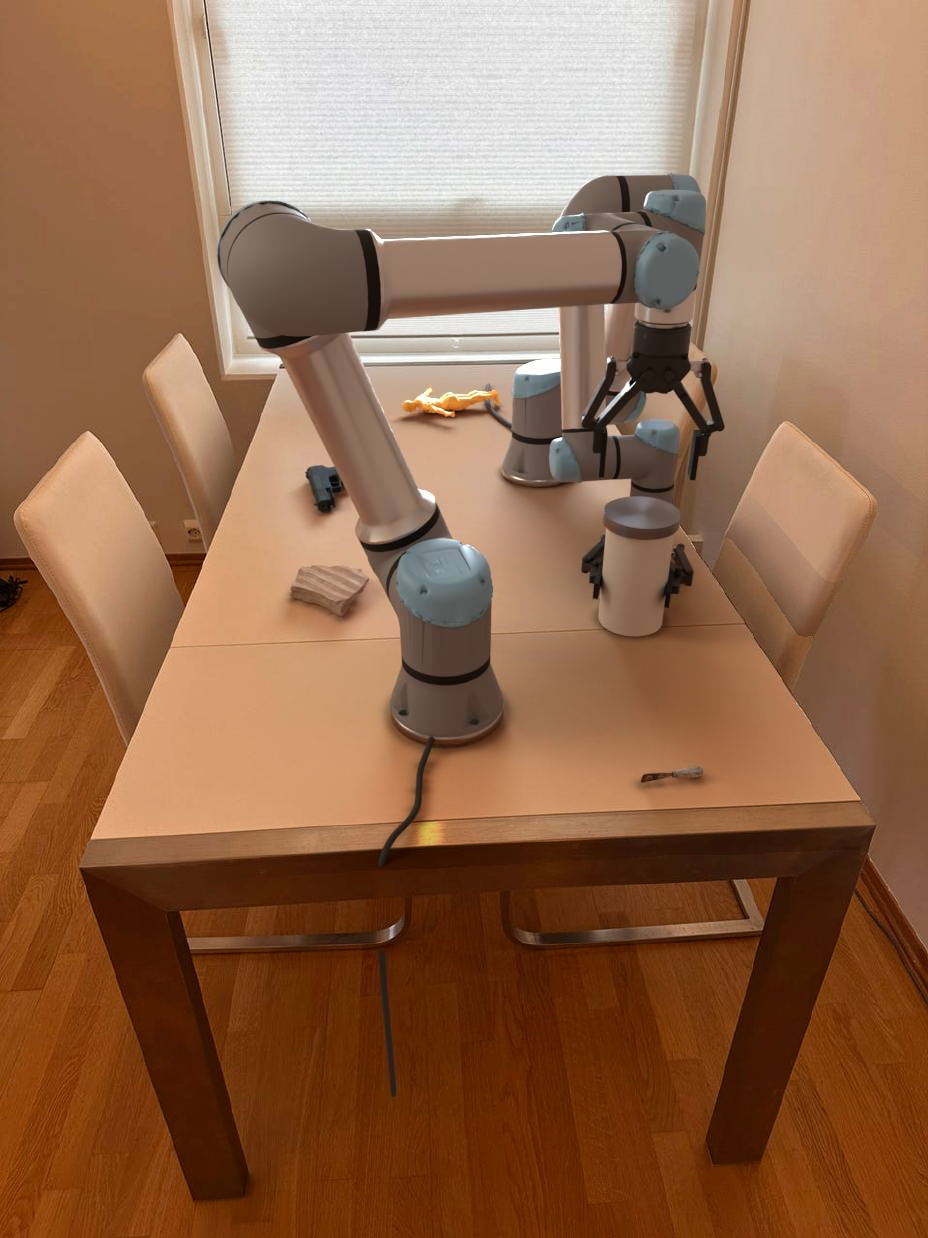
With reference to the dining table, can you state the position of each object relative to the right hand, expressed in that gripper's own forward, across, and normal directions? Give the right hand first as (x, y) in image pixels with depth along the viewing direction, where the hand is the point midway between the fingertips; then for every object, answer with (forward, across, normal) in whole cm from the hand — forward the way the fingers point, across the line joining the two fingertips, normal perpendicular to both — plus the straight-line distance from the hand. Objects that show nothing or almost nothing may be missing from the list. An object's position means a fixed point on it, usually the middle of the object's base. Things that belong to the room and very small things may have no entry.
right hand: (631, 595), depth 134 cm
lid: (-4, 0, +12) cm, 12 cm away
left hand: (-4, 0, +18) cm, 18 cm away
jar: (-4, 0, -7) cm, 8 cm away
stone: (+1, +49, -7) cm, 49 cm away
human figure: (-93, +54, -7) cm, 108 cm away
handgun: (-38, +63, -7) cm, 74 cm away
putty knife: (+32, -9, -7) cm, 34 cm away
